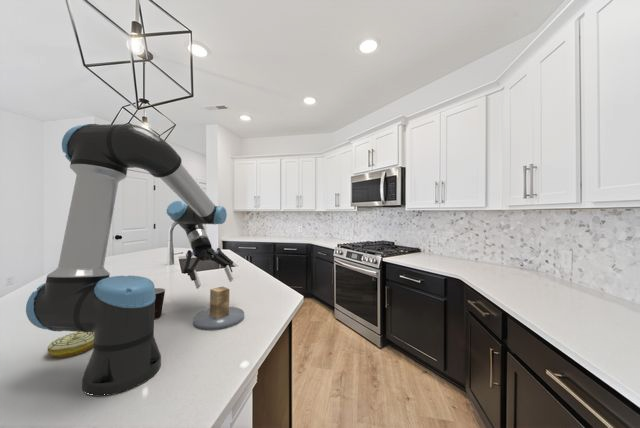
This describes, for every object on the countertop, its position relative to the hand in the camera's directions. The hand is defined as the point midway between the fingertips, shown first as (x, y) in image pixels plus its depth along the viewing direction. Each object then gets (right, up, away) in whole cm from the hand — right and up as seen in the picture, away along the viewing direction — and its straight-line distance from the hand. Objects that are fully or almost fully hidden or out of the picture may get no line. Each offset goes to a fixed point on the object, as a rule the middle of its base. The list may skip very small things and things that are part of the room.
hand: (216, 283), depth 97 cm
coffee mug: (-25, -12, -3) cm, 28 cm away
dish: (+3, -13, -4) cm, 14 cm away
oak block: (+3, -11, -4) cm, 12 cm away
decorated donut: (-30, -12, -26) cm, 42 cm away
